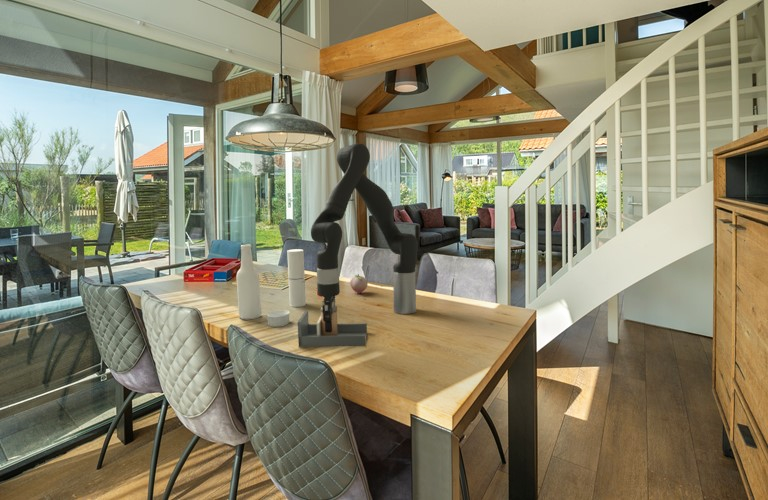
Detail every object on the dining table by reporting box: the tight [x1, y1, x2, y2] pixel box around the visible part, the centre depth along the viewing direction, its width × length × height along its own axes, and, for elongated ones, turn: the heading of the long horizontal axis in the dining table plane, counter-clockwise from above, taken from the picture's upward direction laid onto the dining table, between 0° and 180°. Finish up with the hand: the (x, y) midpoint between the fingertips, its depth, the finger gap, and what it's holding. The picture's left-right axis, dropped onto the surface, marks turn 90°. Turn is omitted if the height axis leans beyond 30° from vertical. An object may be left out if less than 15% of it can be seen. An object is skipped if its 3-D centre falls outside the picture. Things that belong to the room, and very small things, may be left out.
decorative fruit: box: [349, 274, 369, 294], centre depth 199 cm, size 9×8×10 cm
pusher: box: [316, 315, 322, 336], centre depth 137 cm, size 1×10×7 cm, turn 0°
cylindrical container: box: [286, 248, 307, 308], centre depth 179 cm, size 7×7×25 cm
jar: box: [320, 305, 338, 335], centre depth 137 cm, size 6×6×11 cm
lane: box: [297, 310, 368, 348], centre depth 137 cm, size 22×13×8 cm, turn 90°
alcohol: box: [236, 243, 262, 321], centre depth 162 cm, size 9×9×30 cm
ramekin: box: [265, 309, 291, 328], centre depth 155 cm, size 9×9×4 cm
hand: (329, 328), depth 137 cm, fingers closed on jar, 5 cm apart
